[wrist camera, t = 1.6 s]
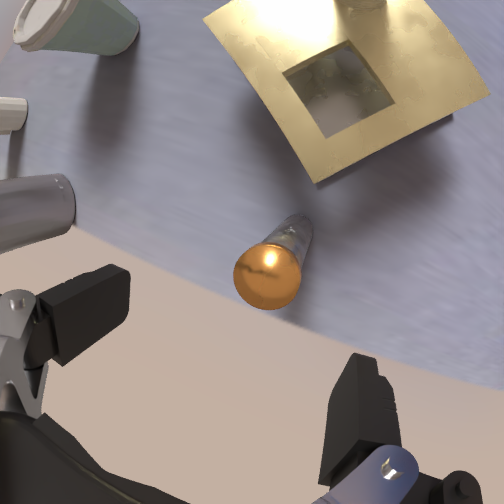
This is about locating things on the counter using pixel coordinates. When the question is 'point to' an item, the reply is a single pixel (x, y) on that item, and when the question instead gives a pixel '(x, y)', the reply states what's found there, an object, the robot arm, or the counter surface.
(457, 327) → the counter surface
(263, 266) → the copper-capped metal rod
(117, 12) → the disposable coffee cup
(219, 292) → the counter surface
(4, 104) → the paper towel roll
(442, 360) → the counter surface
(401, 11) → the tan and silver stand
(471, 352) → the counter surface
